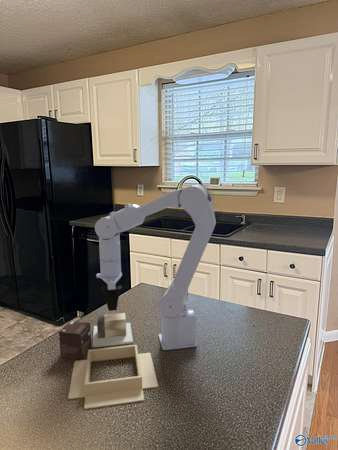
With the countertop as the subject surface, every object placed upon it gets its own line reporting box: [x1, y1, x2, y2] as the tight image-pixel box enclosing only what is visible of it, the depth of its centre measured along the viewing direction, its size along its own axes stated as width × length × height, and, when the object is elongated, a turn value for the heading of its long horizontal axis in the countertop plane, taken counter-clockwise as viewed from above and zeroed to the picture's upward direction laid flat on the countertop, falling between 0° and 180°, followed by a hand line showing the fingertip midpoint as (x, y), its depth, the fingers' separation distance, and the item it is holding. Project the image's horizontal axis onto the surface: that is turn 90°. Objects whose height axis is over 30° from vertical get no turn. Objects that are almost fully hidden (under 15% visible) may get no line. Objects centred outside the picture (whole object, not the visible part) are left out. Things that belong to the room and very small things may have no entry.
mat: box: [91, 321, 134, 349], centre depth 92 cm, size 11×11×1 cm
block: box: [96, 312, 127, 338], centre depth 92 cm, size 8×4×5 cm, turn 101°
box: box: [58, 320, 92, 361], centre depth 83 cm, size 6×6×7 cm
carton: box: [67, 344, 159, 410], centre depth 75 cm, size 19×20×3 cm
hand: (112, 304), depth 91 cm, fingers open, 7 cm apart
